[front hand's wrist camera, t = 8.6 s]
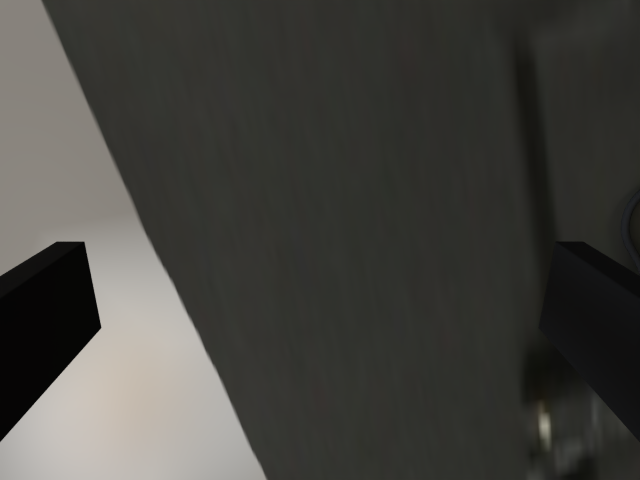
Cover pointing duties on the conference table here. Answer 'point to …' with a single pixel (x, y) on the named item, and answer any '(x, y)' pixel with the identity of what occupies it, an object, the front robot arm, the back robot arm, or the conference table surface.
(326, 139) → the conference table surface
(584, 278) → the front robot arm
